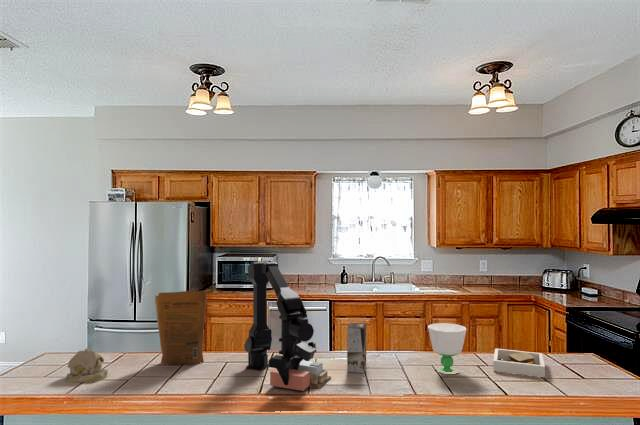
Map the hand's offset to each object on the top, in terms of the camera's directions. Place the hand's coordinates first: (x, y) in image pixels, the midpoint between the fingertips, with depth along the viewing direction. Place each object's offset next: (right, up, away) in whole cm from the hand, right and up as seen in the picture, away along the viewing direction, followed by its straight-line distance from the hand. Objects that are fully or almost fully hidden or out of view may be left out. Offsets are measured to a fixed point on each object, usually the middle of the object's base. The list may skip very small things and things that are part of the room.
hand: (290, 382), depth 148 cm
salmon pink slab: (0, -1, 0) cm, 1 cm away
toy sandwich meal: (+84, -3, +21) cm, 86 cm away
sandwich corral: (+84, -2, +20) cm, 86 cm away
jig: (+4, -2, +7) cm, 9 cm away
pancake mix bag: (-43, -3, +25) cm, 50 cm away
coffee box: (+24, -3, +19) cm, 30 cm away
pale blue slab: (+4, -1, +7) cm, 9 cm away
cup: (+56, -2, +17) cm, 59 cm away
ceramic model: (-72, -3, +11) cm, 73 cm away
